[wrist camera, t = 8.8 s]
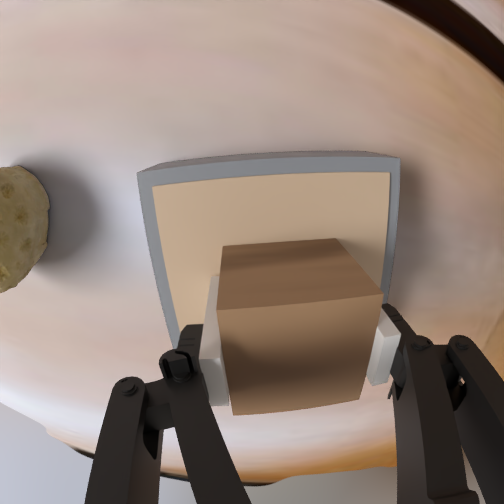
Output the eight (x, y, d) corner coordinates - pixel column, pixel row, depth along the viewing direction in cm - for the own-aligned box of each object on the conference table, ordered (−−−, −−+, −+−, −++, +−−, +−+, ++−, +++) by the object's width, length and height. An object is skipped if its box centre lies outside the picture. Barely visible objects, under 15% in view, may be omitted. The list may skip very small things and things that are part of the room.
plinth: (160, 163, 18) (135, 173, 14) (364, 151, 19) (402, 158, 14) (190, 336, 24) (182, 380, 19) (353, 320, 24) (375, 359, 19)
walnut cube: (222, 245, 15) (216, 310, 10) (335, 237, 15) (383, 293, 10) (232, 337, 18) (233, 415, 12) (328, 328, 18) (358, 399, 12)
